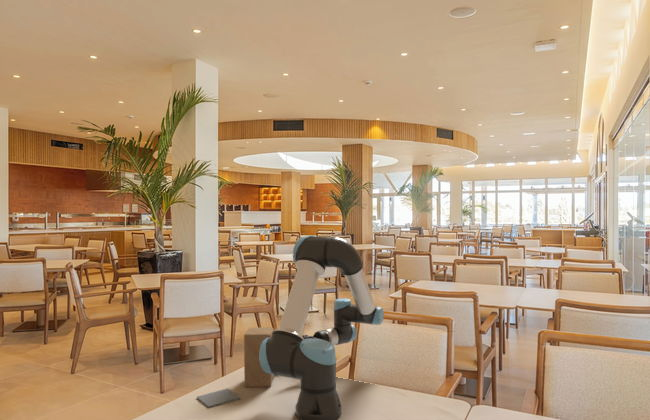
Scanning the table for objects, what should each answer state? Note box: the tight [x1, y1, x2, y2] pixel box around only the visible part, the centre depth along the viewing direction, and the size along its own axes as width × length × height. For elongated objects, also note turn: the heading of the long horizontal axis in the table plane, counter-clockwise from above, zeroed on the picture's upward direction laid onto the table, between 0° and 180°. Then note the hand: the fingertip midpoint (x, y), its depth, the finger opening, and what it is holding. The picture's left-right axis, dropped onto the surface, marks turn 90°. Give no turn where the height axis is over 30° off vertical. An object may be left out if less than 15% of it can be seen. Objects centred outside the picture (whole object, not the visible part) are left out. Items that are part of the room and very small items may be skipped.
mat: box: [196, 387, 241, 409], centre depth 166 cm, size 10×12×1 cm
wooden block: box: [243, 327, 275, 388], centre depth 181 cm, size 10×10×20 cm
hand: (283, 349), depth 188 cm, fingers open, 13 cm apart
